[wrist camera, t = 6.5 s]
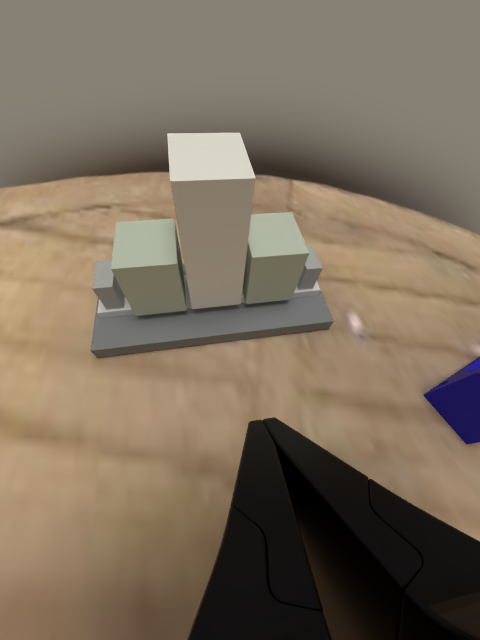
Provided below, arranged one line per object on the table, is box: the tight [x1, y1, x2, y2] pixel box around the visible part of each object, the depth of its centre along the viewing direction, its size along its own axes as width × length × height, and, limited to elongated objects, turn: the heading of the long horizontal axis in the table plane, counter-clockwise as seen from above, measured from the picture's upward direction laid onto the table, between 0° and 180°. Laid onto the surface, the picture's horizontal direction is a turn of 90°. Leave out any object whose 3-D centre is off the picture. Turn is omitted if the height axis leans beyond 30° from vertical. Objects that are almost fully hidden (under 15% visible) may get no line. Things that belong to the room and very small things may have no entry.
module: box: [167, 133, 255, 309], centre depth 20 cm, size 5×4×12 cm
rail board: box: [91, 212, 334, 358], centre depth 23 cm, size 9×22×8 cm, turn 100°
